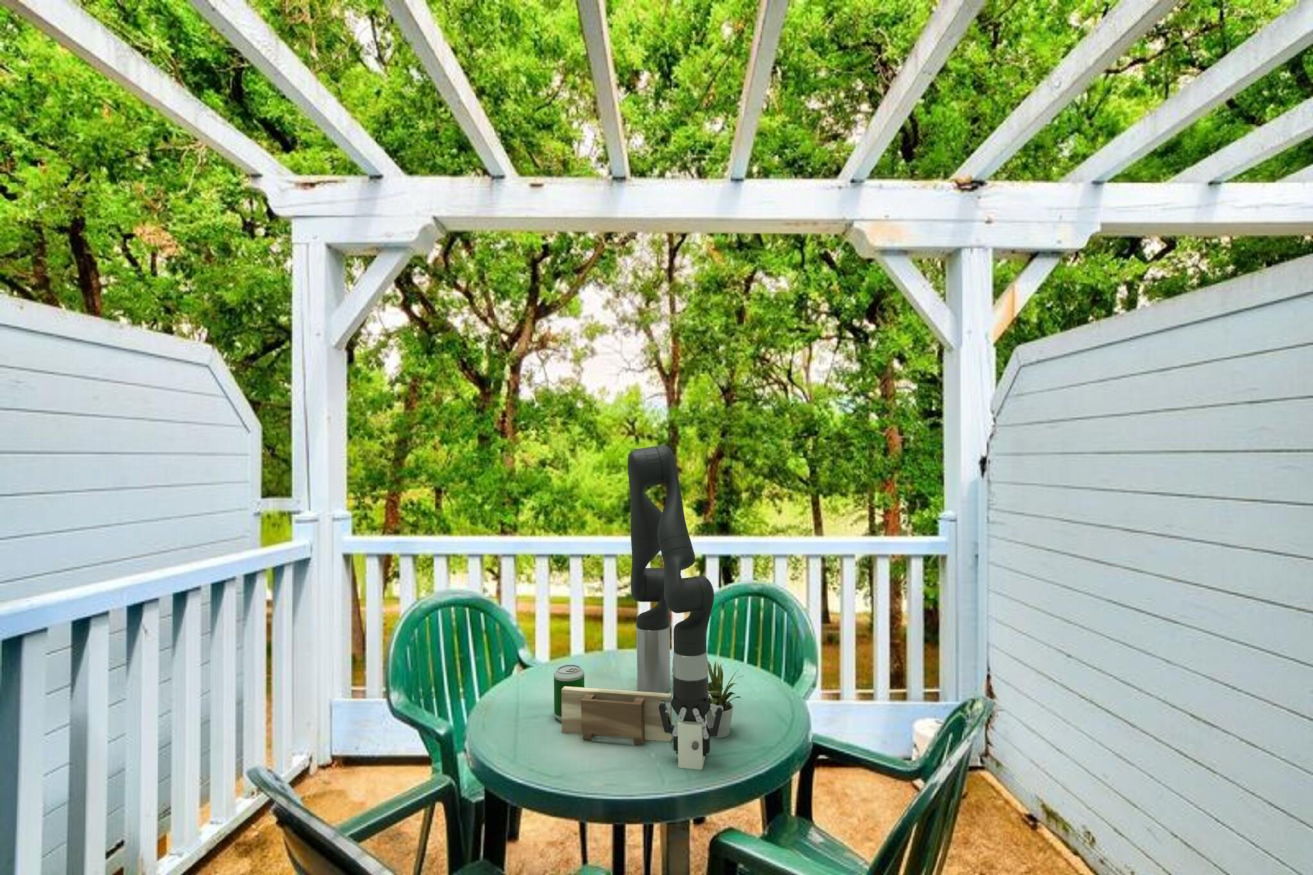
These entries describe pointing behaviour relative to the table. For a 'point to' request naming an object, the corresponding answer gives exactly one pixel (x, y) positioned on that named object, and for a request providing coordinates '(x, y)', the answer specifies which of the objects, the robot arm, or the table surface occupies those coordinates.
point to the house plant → (720, 700)
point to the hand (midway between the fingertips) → (691, 752)
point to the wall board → (614, 713)
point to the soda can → (566, 684)
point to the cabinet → (690, 745)
